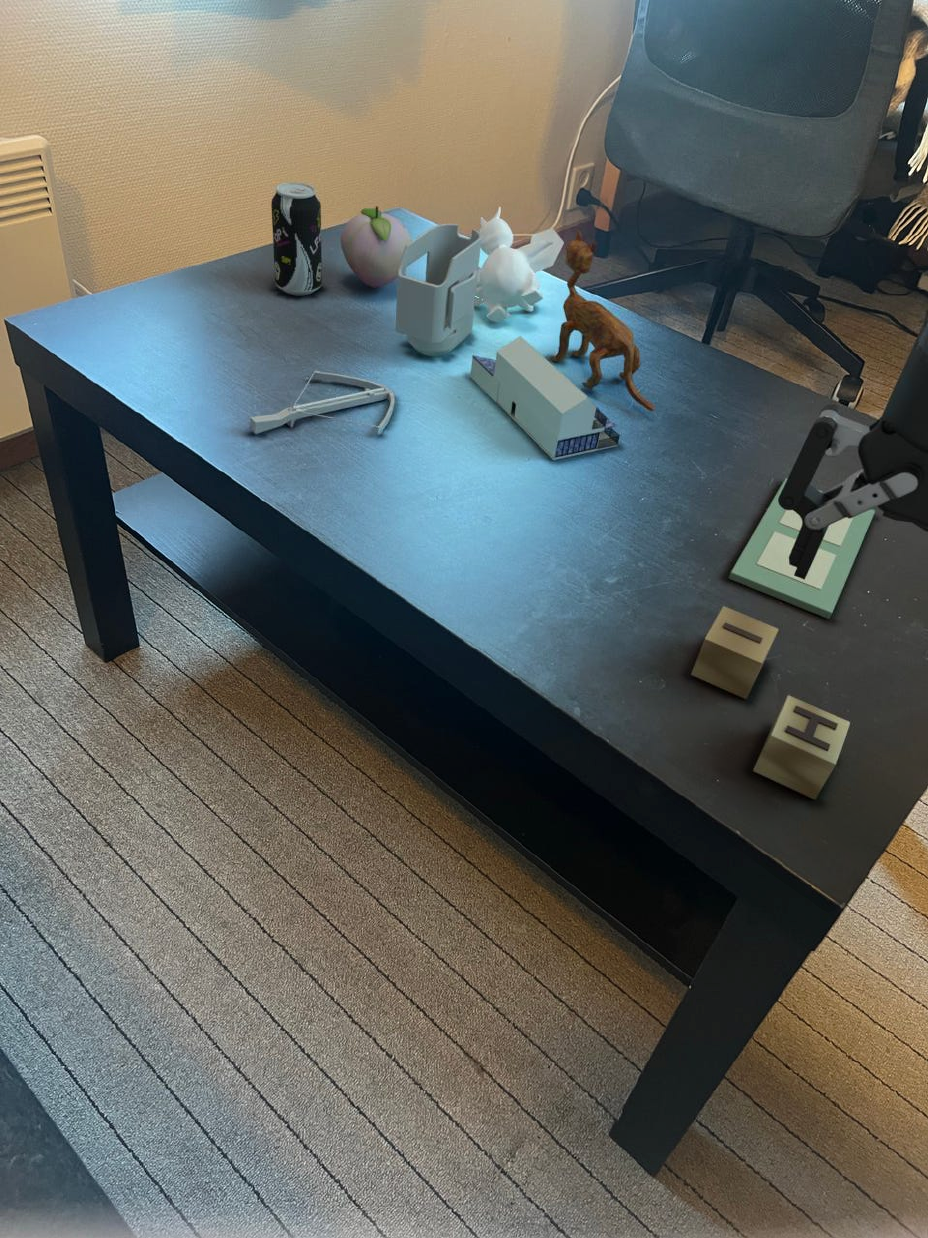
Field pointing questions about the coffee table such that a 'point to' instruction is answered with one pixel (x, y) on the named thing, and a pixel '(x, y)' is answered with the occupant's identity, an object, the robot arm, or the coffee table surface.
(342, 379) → the crossbow
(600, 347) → the cat figurine
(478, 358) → the building
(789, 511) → the word board
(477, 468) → the coffee table surface
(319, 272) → the beverage can
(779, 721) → the light wooden cube
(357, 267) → the decorative fruit
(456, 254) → the cable organizer
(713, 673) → the tan cube
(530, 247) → the character figurine
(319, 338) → the coffee table surface
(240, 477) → the coffee table surface
